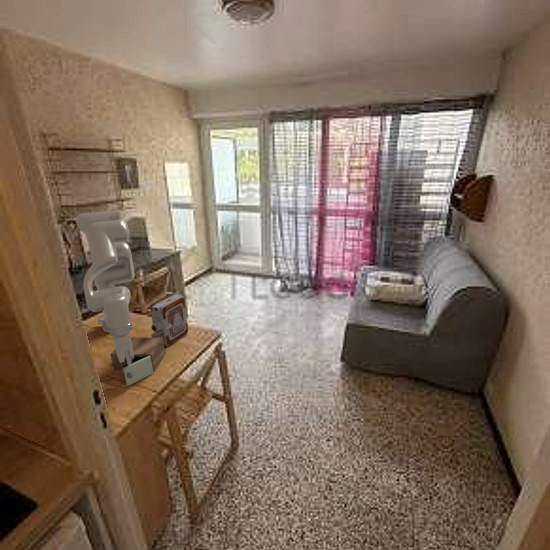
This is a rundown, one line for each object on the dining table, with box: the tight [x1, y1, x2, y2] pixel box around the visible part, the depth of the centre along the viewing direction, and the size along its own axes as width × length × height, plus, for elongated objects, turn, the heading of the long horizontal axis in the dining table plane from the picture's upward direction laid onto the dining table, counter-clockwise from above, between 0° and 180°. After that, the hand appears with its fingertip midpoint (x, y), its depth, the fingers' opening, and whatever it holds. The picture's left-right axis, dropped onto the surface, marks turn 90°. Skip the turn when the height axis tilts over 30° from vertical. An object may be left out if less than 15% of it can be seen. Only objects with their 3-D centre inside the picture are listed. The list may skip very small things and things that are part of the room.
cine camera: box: [149, 293, 189, 347], centre depth 144 cm, size 9×19×20 cm, turn 152°
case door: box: [123, 356, 154, 387], centre depth 121 cm, size 10×2×8 cm, turn 137°
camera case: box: [110, 337, 166, 373], centre depth 131 cm, size 16×12×8 cm
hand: (129, 371), depth 122 cm, fingers closed
